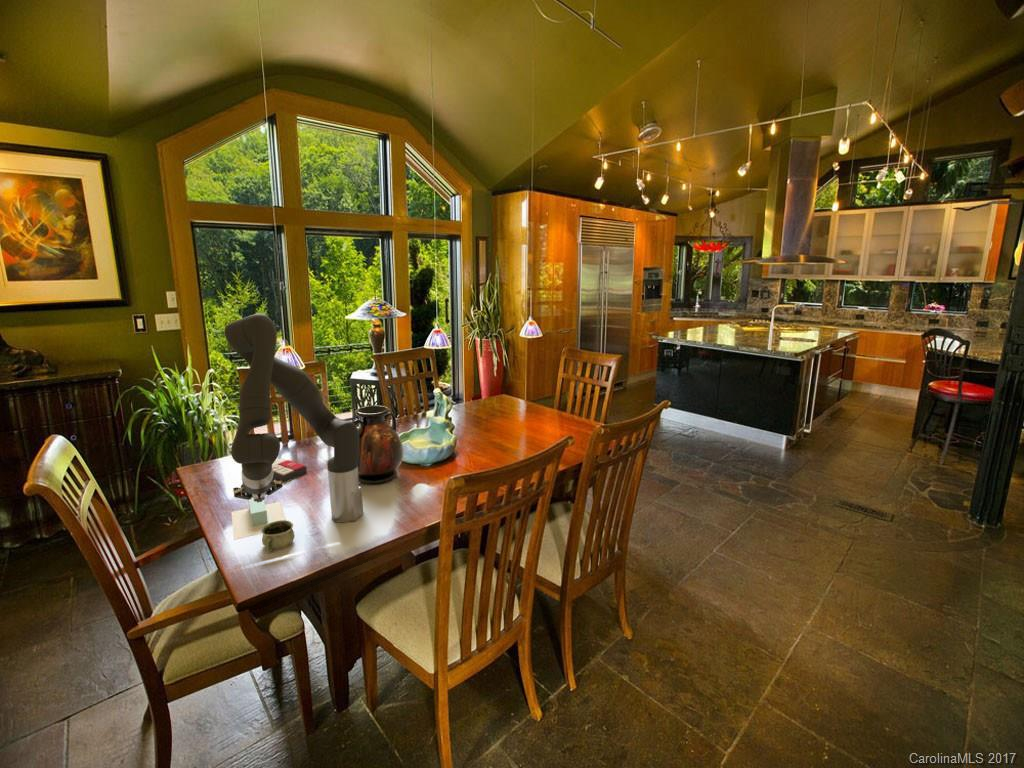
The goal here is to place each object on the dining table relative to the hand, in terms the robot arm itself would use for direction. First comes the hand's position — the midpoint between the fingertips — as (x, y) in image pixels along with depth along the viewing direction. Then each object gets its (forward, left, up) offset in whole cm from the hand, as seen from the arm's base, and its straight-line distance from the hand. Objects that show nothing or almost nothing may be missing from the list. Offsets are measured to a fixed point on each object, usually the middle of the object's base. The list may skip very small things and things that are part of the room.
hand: (259, 499), depth 147 cm
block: (+6, -7, -10) cm, 14 cm away
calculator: (+24, -47, -14) cm, 55 cm away
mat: (+9, -10, -13) cm, 19 cm away
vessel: (-7, +2, -14) cm, 15 cm away
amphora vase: (-14, -49, -14) cm, 53 cm away
